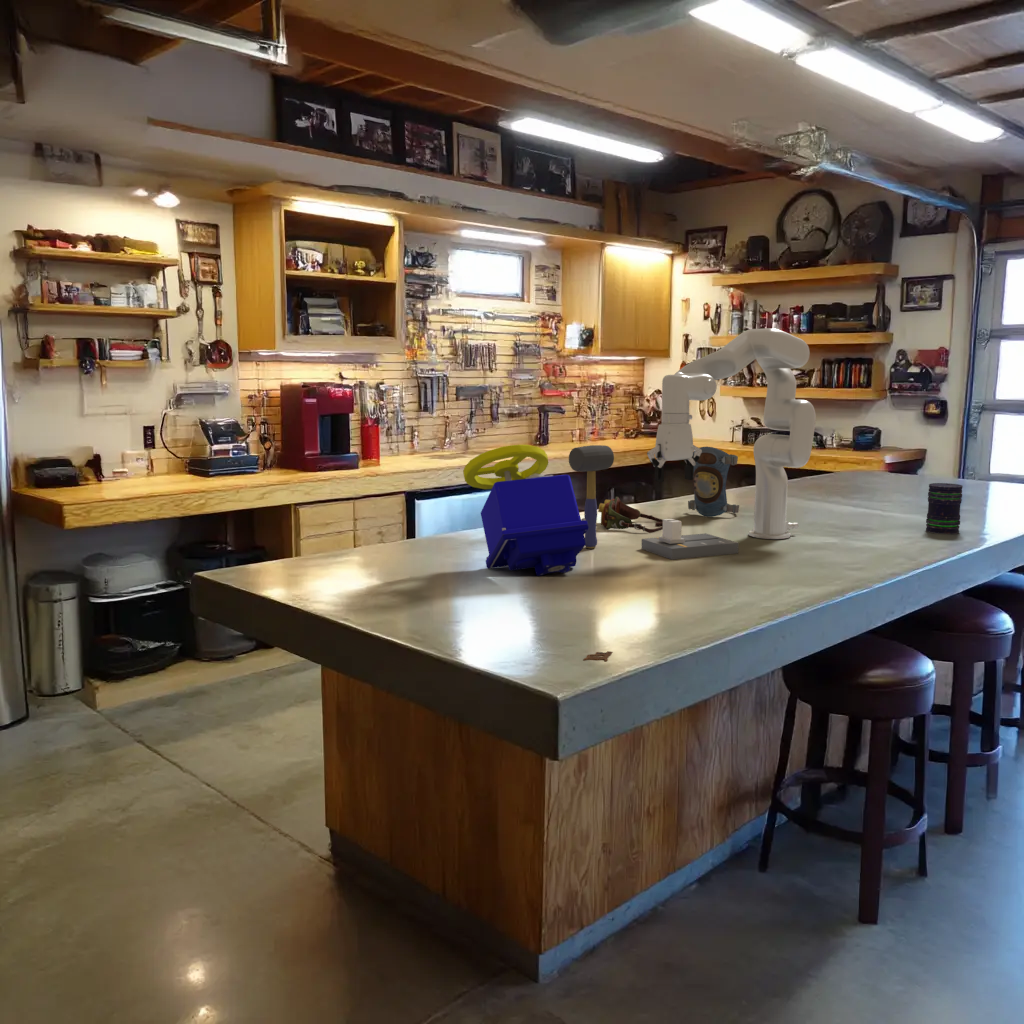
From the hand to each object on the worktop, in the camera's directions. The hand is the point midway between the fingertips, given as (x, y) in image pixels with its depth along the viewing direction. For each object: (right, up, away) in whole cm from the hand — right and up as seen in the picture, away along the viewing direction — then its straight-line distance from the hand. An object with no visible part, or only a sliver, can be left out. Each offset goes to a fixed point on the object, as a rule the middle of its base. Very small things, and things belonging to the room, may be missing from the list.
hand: (674, 480), depth 252 cm
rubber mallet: (-23, -20, +9) cm, 31 cm away
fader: (0, -17, +2) cm, 17 cm away
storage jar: (+92, -15, +34) cm, 99 cm away
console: (+5, -20, +4) cm, 21 cm away
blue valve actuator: (-43, -24, -20) cm, 53 cm away
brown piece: (-27, -34, -82) cm, 93 cm away
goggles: (-6, -14, +45) cm, 47 cm away
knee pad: (+26, -10, +68) cm, 74 cm away
